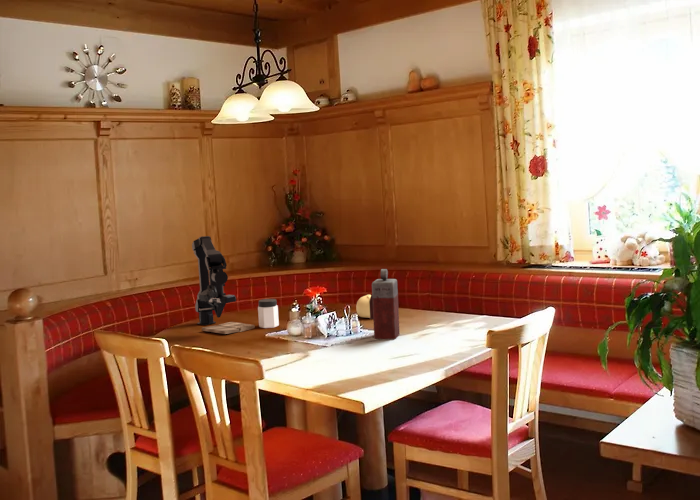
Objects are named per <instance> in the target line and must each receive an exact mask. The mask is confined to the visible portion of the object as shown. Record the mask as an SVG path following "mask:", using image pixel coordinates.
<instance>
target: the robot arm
mask: <svg viewBox="0 0 700 500" xmlns="http://www.w3.org/2000/svg"><path fill="white" fill-rule="evenodd" d="M191 248H192V251H193V254H194V256H195V257H196V259H197V264H198V277H199V278H198V281H199V291H198V293H197V295H196V300H195V306H194V307H195V312H197V313H198V319H199V320H198V321H199V322H197V323H196V324H197V325H201V326H207V325H212V324H216V323H217V322H216V321H214V314H213V311H214V312H215V316H216V317H217V318H221V316H222V314H223V310H224V308H225V307H226V304H229V303H233V302H237V297H236V295H235V294H226V292H225V291H224V287H225V286H226V283H227V282H228V278H229V276H228V274H227V273H226V272H225V271H224V270H225V269H227V267H228V266H227V261H226V258H225V257H224V255H223V254H222V252H221V251H220V250H217V249H216V247H215V245H214V244H213V241H212V237H211V236H210V235H207V236H205V235H204V236H199V237H198V238H197V239H195V240H193V241H192V244H191Z"/></svg>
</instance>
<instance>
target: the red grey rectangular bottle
mask: <svg viewBox="0 0 700 500" xmlns="http://www.w3.org/2000/svg"><path fill="white" fill-rule="evenodd" d="M388 275H389V271H388V269H387V268H381V269H380V278H377V279H375V280H374V281H372V283H371V294H370V295H371V297H370V301H369V305H370V318H369V319H370V320H373V335H374V336H373V337H374V339H375V340H397V339H398V337H399V336H400V313H399V312H400V311H399V290H398V279H396V278H388V277H389V276H388Z"/></svg>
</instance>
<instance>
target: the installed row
mask: <svg viewBox="0 0 700 500" xmlns="http://www.w3.org/2000/svg"><path fill="white" fill-rule="evenodd" d="M217 326H223V327H229V328H236V329H239V332H238V333H241V332H242V333H243V332H245V331H250V330H252V329H253V330H254V329H255V327H256V326H255V324H250V323H243V322H236V321H229V322H228V321H227V322H225V323H220V324H217Z"/></svg>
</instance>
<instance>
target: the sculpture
mask: <svg viewBox="0 0 700 500" xmlns="http://www.w3.org/2000/svg"><path fill="white" fill-rule="evenodd" d="M371 295H372V294H366V295H363V296H361V297H360V298H359V299H358V300H357V301H356V307H355V308H356V313H357V315H358V316H359V317H360V318H369V319H370V305H369V301H370V297H371Z"/></svg>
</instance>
